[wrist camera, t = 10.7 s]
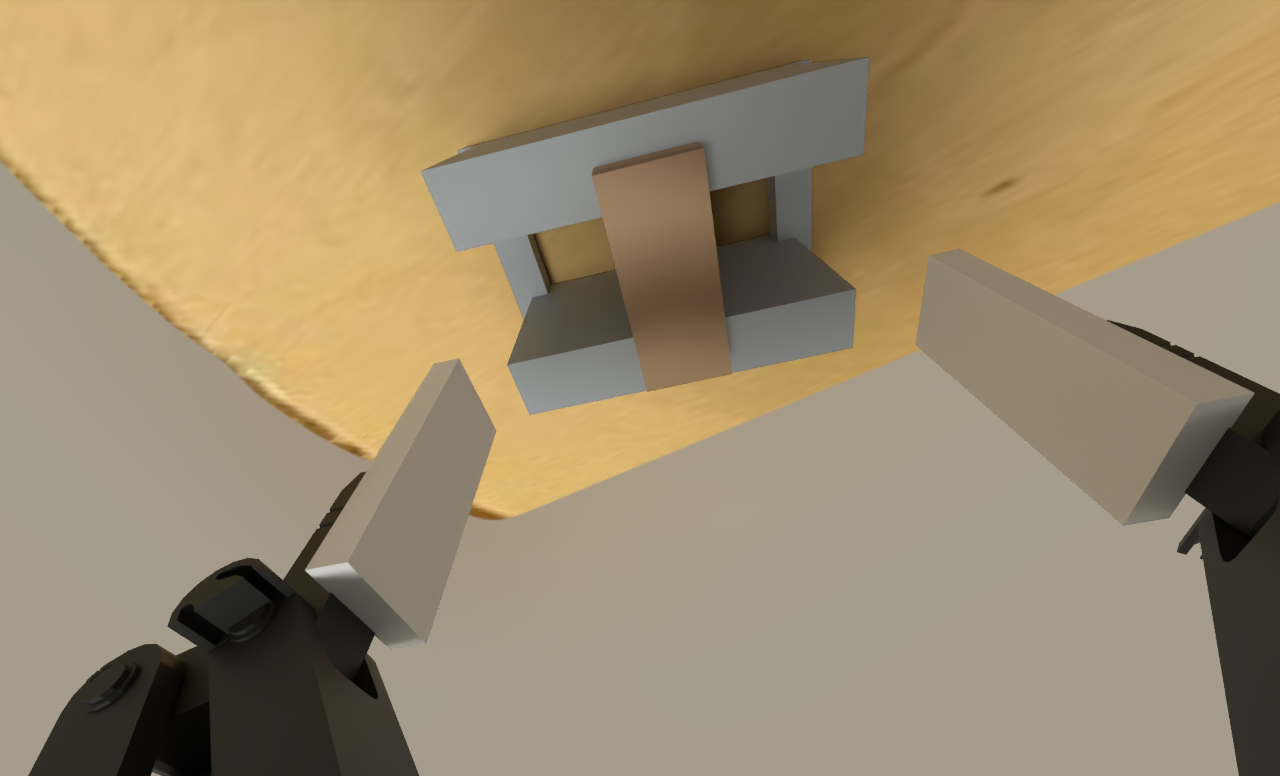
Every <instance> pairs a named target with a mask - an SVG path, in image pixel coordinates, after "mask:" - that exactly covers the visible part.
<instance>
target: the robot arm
mask: <svg viewBox="0 0 1280 776" xmlns="http://www.w3.org/2000/svg"><path fill="white" fill-rule="evenodd" d="M916 346H918V347H919V348H920V349H921V350H922V351H923V352H924V353H926V354H927V355H928V356H929V357H930V358H931V359H933V360H934V361H935V362H936V363H937V364H938V365H939V366H941V367H942V368H943V369H944V370H945V371H946V372H947V373H949V374H950V375H951V376H952V377H953V378H954V379H955V380H957V381H958V382H959V383H960V384H961V385H962V386H963V387H965V388H966V389H967V390H968V391H969V392H970V393H971V394H973V395H974V396H975V397H976V398H977V399H978V400H980V401H981V402H982V403H983V404H984V405H985V406H986V407H988V408H989V409H990V410H991V411H992V412H993V413H994V414H996V415H997V416H998V417H999V418H1000V419H1001V420H1002V421H1004V422H1005V423H1006V424H1007V425H1008V426H1009V427H1010V428H1012V429H1013V430H1014V431H1015V432H1016V433H1017V434H1018V435H1020V436H1021V437H1022V438H1023V439H1024V440H1025V441H1027V442H1028V443H1029V444H1030V445H1031V446H1032V447H1033V448H1035V449H1036V450H1037V451H1038V452H1039V453H1040V454H1041V455H1043V456H1044V457H1045V458H1046V459H1047V460H1048V461H1049V462H1051V463H1052V464H1053V465H1054V466H1055V467H1056V468H1057V469H1059V470H1060V471H1061V472H1062V473H1063V474H1064V475H1065V476H1067V477H1068V478H1069V479H1070V480H1071V481H1072V482H1074V483H1075V484H1076V485H1077V486H1078V487H1079V488H1080V489H1082V490H1083V491H1084V492H1085V493H1086V494H1087V495H1088V496H1090V497H1091V498H1092V499H1093V500H1094V501H1095V502H1097V503H1098V504H1099V505H1100V506H1101V507H1102V508H1103V509H1104V510H1106V511H1107V512H1108V513H1109V514H1110V515H1111V516H1113V517H1114V518H1115V519H1116V520H1117V521H1118V522H1119V523H1121V524H1122V525H1123V526H1124V525H1130V524H1136V523H1142V522H1148V521H1154V520H1160V519H1166V518H1169V517H1170V516H1171V514H1172V513H1173V511H1174V510H1175V509H1176V507H1177V506H1178V504H1179V503H1180V501H1181V500H1182V498H1183V497H1184V496H1185V494H1188V495H1189V496H1190V497H1192V498H1193V499H1195V500H1196V501H1197V502H1199V503H1200V504H1202V505H1203V506H1204V507H1206V508H1205V509H1204V511H1203V512H1202V513H1201V515H1200V516H1199V517H1198V519H1197V520H1196V521H1195V523H1194V524H1193V525H1192V527H1191V528H1190V530H1189V531H1188V532H1187V534H1186V535H1185V536H1184V537H1183V539H1182V541H1181V542H1180V543H1179V546H1178V550H1177V552H1179V553H1183V554H1187V553H1188V551H1189V550H1190V549H1191V548H1192V546H1193V545H1194V544H1197V543H1200V544H1201V549H1202V555H1201V557H1200V559H1203V561H1204V568H1205V573H1206V580H1207V586H1208V592H1209V598H1210V604H1211V610H1212V616H1213V622H1214V628H1215V634H1216V640H1217V646H1218V652H1219V658H1220V664H1221V669H1222V676H1223V682H1224V688H1225V694H1226V700H1227V706H1228V712H1229V718H1230V724H1231V730H1232V736H1233V742H1234V748H1235V754H1236V761H1237V766H1238V773H1239V776H1280V394H1279V393H1277V392H1275V391H1272V390H1270V389H1268V388H1266V387H1264V386H1262V385H1260V384H1258V383H1255V382H1253V381H1251V380H1249V379H1247V378H1244V377H1243V376H1241V375H1238V374H1236V373H1234V372H1232V371H1230V370H1228V369H1226V368H1223V367H1221V366H1219V365H1217V364H1215V363H1213V362H1211V361H1209V360H1207V359H1204V358H1202V357H1200V356H1199V357H1194V353H1191V352H1189V351H1187V350H1185V349H1183V348H1181V347H1179V346H1177V345H1174V346H1171V345H1170V342H1168V341H1166V340H1164V339H1162V338H1160V337H1158V336H1156V335H1153V334H1151V333H1149V332H1147V331H1145V330H1143V329H1139V328H1136V327H1132V326H1128V325H1124V324H1121V323H1117V322H1113V321H1109V320H1104V319H1102V318H1099V317H1098V316H1096V315H1094V314H1092V313H1089V312H1087V311H1085V310H1083V309H1081V308H1079V307H1077V306H1075V305H1073V304H1071V303H1068V302H1067V301H1065V300H1063V299H1061V298H1059V297H1057V296H1055V295H1053V294H1050V293H1048V292H1046V291H1044V290H1042V289H1040V288H1038V287H1036V286H1034V285H1032V284H1030V283H1028V282H1026V281H1024V280H1022V279H1020V278H1018V277H1016V276H1014V275H1011V274H1009V273H1007V272H1005V271H1003V270H1001V269H999V268H997V267H995V266H993V265H991V264H989V263H987V262H985V261H983V260H981V259H979V258H977V257H975V256H972V255H970V254H968V253H966V252H964V251H962V250H960V249H957V250H952V251H947V252H943V253H938V254H934V255H929V260H928V266H927V273H926V280H925V286H924V293H923V299H922V306H921V313H920V319H919V326H918V333H917V339H916ZM495 433H496V429H495V427H494V425H493V423H492V421H491V420H490V418H489V416H488V414H487V412H486V410H485V408H484V406H483V404H482V402H481V400H480V398H479V396H478V394H477V392H476V390H475V388H474V387H473V385H472V383H471V381H470V379H469V377H468V375H467V373H466V371H465V369H464V367H463V365H462V363H461V361H460V359H454V360H450V361H445V362H441V363H436V364H434V365H433V366H432V368H431V369H430V371H429V373H428V374H427V376H426V377H425V379H424V380H423V382H422V384H421V385H420V387H419V388H418V390H417V392H416V393H415V395H414V396H413V398H412V400H411V401H410V403H409V404H408V406H407V408H406V409H405V411H404V412H403V414H402V416H401V417H400V419H399V420H398V422H397V424H396V425H395V427H394V428H393V430H392V432H391V433H390V435H389V436H388V438H387V440H386V441H385V443H384V444H383V446H382V448H381V449H380V451H379V452H378V454H377V456H376V457H375V459H374V460H373V462H372V464H371V465H370V467H369V469H368V470H367V472H362V473H360V474H359V475H358V476H357V477H356V478H355V479H354V480H353V481H351V482H350V483H349V484H348V485H347V486H346V487H345V488H344V489H343V490H342V491H341V493H340V494H339V496H338V497H337V499H336V500H335V502H334V503H333V505H332V506H331V508H330V513H327V514H326V516H325V517H324V519H323V520H322V522H321V523H320V529H316V531H315V533H314V534H313V535H312V537H311V538H310V540H309V541H308V543H307V545H306V546H305V548H304V549H303V551H302V552H301V554H300V555H299V557H298V558H297V560H296V561H295V563H294V564H293V566H292V567H291V569H290V570H289V572H288V573H287V575H286V577H285V578H284V580H282V579H281V578H280V577H278V576H277V575H276V574H275V573H274V572H273V571H272V570H271V569H269V568H268V567H267V566H266V565H265V564H264V563H262V562H261V561H260V560H259V559H253V558H247V559H243V560H239V561H236V562H233V563H231V564H229V565H227V566H225V567H223V568H221V569H219V570H217V571H215V572H214V573H213V574H211V575H210V576H208V577H207V578H206V579H204V580H203V581H202V582H200V583H199V584H198V585H197V586H196V587H194V588H193V589H192V590H191V591H190V592H189V593H188V594H187V595H186V596H185V597H184V598H183V599H182V600H181V602H180V603H179V605H178V606H177V607H176V609H175V610H174V612H173V613H172V615H171V618H170V621H169V624H168V627H169V628H171V629H172V630H174V631H175V632H177V633H178V634H180V635H181V636H183V637H185V638H186V639H188V640H189V641H191V642H192V643H194V644H195V645H197V646H196V647H194V648H192V649H189V650H188V651H185V652H183V653H181V654H179V655H174V654H172V653H171V652H169V651H167V650H166V649H164V648H162V647H161V646H159V645H157V644H145V645H142V646H140V647H137V648H134V649H132V650H129V651H127V652H126V653H124V654H122V655H121V656H119V657H117V658H116V659H114V660H112V661H110V662H109V663H107V664H106V665H105V666H103V667H102V668H101V670H100V671H97V672H96V673H95V674H93V675H92V676H91V677H90V678H89V679H88V680H87V681H86V683H85V684H84V685H83V686H82V687H81V688H80V689H79V690H78V691H77V692H76V693H75V694H74V695H73V697H72V698H71V699H70V701H69V702H68V704H67V705H66V707H65V708H64V710H63V711H62V713H61V714H60V717H59V718H58V720H57V722H56V724H55V726H54V728H53V730H52V732H51V734H50V736H49V738H48V739H47V741H46V743H45V745H44V747H43V749H42V751H41V753H40V755H39V756H38V759H37V760H36V762H35V764H34V766H33V768H32V770H31V772H30V774H29V776H151V773H152V772H154V773H156V774H159V775H161V776H419V774H418V771H417V769H416V766H415V764H414V761H413V758H412V756H411V753H410V751H409V748H408V746H407V743H406V740H405V738H404V735H403V732H402V730H401V727H400V725H399V722H398V720H397V717H396V714H395V712H394V709H393V707H392V704H391V702H390V699H389V696H388V694H387V691H386V689H385V686H384V683H383V681H382V678H381V676H380V673H379V670H378V668H377V665H376V663H375V662H374V660H373V659H372V658H371V657H370V656H369V655H368V654H367V651H368V649H369V647H370V644H371V642H372V640H373V637H374V635H375V636H376V637H377V638H378V639H379V640H381V641H382V642H383V643H384V644H385V645H386V646H387V647H388V648H389V649H390V650H392V649H397V648H403V647H409V646H415V645H421V644H426V643H427V640H428V636H429V634H430V631H431V627H432V625H433V622H434V618H435V615H436V613H437V609H438V606H439V603H440V600H441V597H442V594H443V591H444V588H445V585H446V582H447V579H448V576H449V573H450V570H451V567H452V564H453V561H454V558H455V554H456V551H457V548H458V545H459V542H460V540H461V537H462V533H463V530H464V527H465V524H466V521H467V518H468V515H469V512H470V509H471V506H472V503H473V500H474V497H475V494H476V491H477V488H478V485H479V482H480V479H481V476H482V473H483V470H484V467H485V464H486V461H487V457H488V454H489V451H490V448H491V445H492V442H493V439H494V436H495Z"/></svg>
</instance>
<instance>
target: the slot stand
mask: <svg viewBox="0 0 1280 776" xmlns="http://www.w3.org/2000/svg"><path fill="white" fill-rule="evenodd" d="M868 73H869V57H864V58H854V59H845V60H835V61H825V62H815V63H812V60H805V61H799V62H795V63H791V64H787V65H783V66H779V67H776V68H772V69H768V70H764V71H760V72H756V73H752V74H748V75H744V76H741V77H737V78H733V79H729V80H725V81H721V82H717V83H713V84H709V85H706V86H702V87H698V88H694V89H690V90H686V91H682V92H678V93H674V94H671V95H667V96H663V97H659V98H655V99H651V100H647V101H643V102H639V103H636V104H632V105H628V106H624V107H620V108H616V109H612V110H608V111H604V112H601V113H597V114H593V115H589V116H585V117H581V118H577V119H573V120H569V121H566V122H562V123H558V124H554V125H550V126H546V127H542V128H538V129H534V130H531V131H527V132H523V133H519V134H515V135H511V136H507V137H503V138H499V139H496V140H492V141H488V142H484V143H480V144H476V145H472V146H468V147H465V148H462V149H460V150H458V151H457V152H458V154H457V155H455V156H453V157H451V158H449V159H446V160H444V161H442V162H440V163H438V164H436V165H433V166H431V167H429V168H427V169H425V170H423V171H421V173H422V176H423V178H424V180H425V182H426V185H427V187H428V189H429V191H430V194H431V196H432V198H433V200H434V203H435V205H436V207H437V209H438V211H439V214H440V216H441V218H442V220H443V223H444V225H445V227H446V229H447V232H448V234H449V236H450V238H451V240H452V243H453V245H454V247H455V249H456V252H459V251H463V250H467V249H471V248H475V247H480V246H484V245H488V244H492V243H494V246H495V248H496V251H497V253H498V256H499V258H500V261H501V263H502V266H503V268H504V271H505V273H506V276H507V278H508V281H509V283H510V286H511V288H512V291H513V293H514V296H515V299H516V301H517V304H518V306H519V309H520V311H521V314H522V316H523V319H524V321H523V324H522V326H521V329H520V332H519V335H518V337H517V340H516V343H515V345H514V348H513V351H512V353H511V356H510V359H509V362H508V364H507V366H508V368H509V370H510V372H511V375H512V377H513V379H514V381H515V384H516V386H517V388H518V390H519V392H520V395H521V397H522V399H523V401H524V404H525V406H526V408H527V410H528V413H529V415H532V414H537V413H541V412H546V411H551V410H556V409H561V408H565V407H570V406H575V405H580V404H585V403H589V402H594V401H599V400H604V399H609V398H613V397H618V396H623V395H628V394H633V393H638V392H642V391H647V389H646V385H645V381H644V377H643V373H642V370H641V366H640V362H639V358H638V354H637V350H636V346H635V342H634V339H633V335H632V331H631V327H630V323H629V319H628V315H627V311H626V307H625V304H624V300H623V296H622V292H621V288H620V284H619V280H618V276H617V273H616V270H613V271H609V272H605V273H600V274H596V275H592V276H587V277H583V278H579V279H574V280H570V281H566V282H561V283H557V284H552V285H551V284H550V282H549V279H548V276H547V273H546V270H545V267H544V264H543V261H542V258H541V255H540V252H539V249H538V247H537V244H536V241H535V238H534V235H533V234H534V233H538V232H542V231H547V230H551V229H555V228H559V227H563V226H567V225H572V224H576V223H580V222H584V221H588V220H593V219H597V218H601V217H602V214H601V210H600V207H599V203H598V199H597V195H596V191H595V187H594V183H593V179H592V172H593V168H594V167H598V166H602V165H606V164H610V163H614V162H618V161H622V160H626V159H630V158H634V157H638V156H642V155H646V154H650V153H654V152H658V151H662V150H666V149H669V148H673V147H677V146H681V145H685V144H689V143H693V142H696V143H698V144H699V145H701V146H702V147H704V152H705V160H706V168H707V176H708V184H709V192H710V191H714V190H718V189H722V188H726V187H730V186H735V185H739V184H743V183H747V182H751V181H756V180H760V179H764V178H767V182H768V201H769V220H770V235H766V236H761V237H757V238H753V239H748V240H744V241H740V242H735V243H731V244H727V245H722V246H718V247H716V248H717V256H718V265H719V273H720V281H721V289H722V297H723V305H724V313H725V321H726V329H727V337H728V345H729V353H730V361H731V369H732V373H734V372H739V371H743V370H748V369H753V368H758V367H763V366H767V365H772V364H777V363H782V362H787V361H791V360H796V359H801V358H806V357H811V356H815V355H820V354H825V353H830V352H835V351H839V350H844V349H849V348H853V334H854V316H855V299H856V289H855V288H854V287H853V286H852V285H851V284H849V283H848V282H847V281H846V280H845V279H843V278H842V277H841V276H840V275H839V274H837V273H836V272H835V271H834V270H833V269H831V268H830V267H829V266H828V265H827V264H826V263H824V262H823V261H822V260H821V259H820V258H818V257H817V256H816V255H815V254H814V253H812V167H814V166H818V165H822V164H827V163H831V162H835V161H839V160H843V159H848V158H852V157H856V156H860V155H864V142H865V125H866V107H867V90H868Z"/></svg>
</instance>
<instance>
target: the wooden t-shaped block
mask: <svg viewBox="0 0 1280 776" xmlns="http://www.w3.org/2000/svg"><path fill="white" fill-rule="evenodd" d="M592 179H593V183H594V187H595V191H596V195H597V199H598V203H599V207H600V210H601V214H602V218H603V222H604V226H605V230H606V234H607V238H608V241H609V245H610V249H611V253H612V257H613V261H614V265H615V269H616V273H617V276H618V280H619V284H620V288H621V292H622V296H623V300H624V304H625V307H626V311H627V315H628V319H629V323H630V327H631V331H632V335H633V339H634V342H635V346H636V350H637V354H638V358H639V362H640V366H641V370H642V373H643V377H644V381H645V385H646V389H647V392H649V391H653V390H658V389H663V388H668V387H672V386H677V385H682V384H686V383H691V382H696V381H701V380H705V379H710V378H715V377H720V376H724V375H729V374H732V369H731V361H730V353H729V345H728V337H727V329H726V321H725V313H724V305H723V297H722V289H721V281H720V273H719V265H718V256H717V248H716V240H715V232H714V224H713V216H712V208H711V200H710V192H709V184H708V176H707V168H706V160H705V152H704V147H702V146H701V145H699V144H698V143H696V142H693V143H689V144H685V145H681V146H677V147H673V148H669V149H666V150H662V151H658V152H654V153H650V154H646V155H642V156H638V157H634V158H630V159H626V160H622V161H618V162H614V163H610V164H606V165H602V166H598V167H594V168H593V172H592Z"/></svg>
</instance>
